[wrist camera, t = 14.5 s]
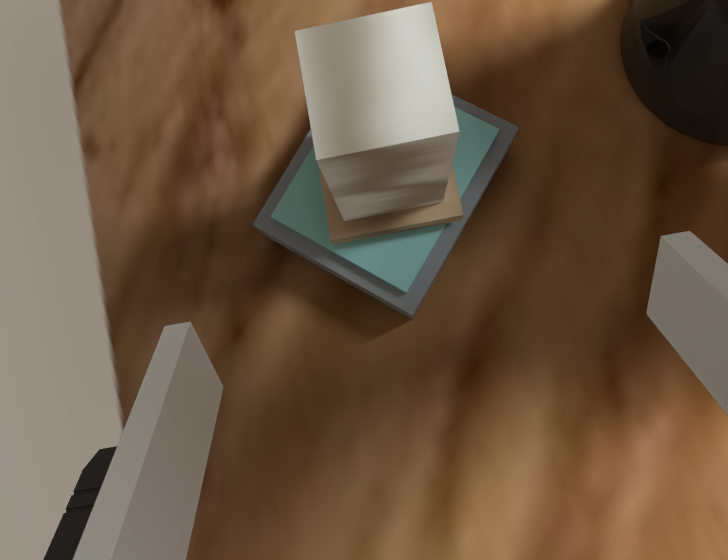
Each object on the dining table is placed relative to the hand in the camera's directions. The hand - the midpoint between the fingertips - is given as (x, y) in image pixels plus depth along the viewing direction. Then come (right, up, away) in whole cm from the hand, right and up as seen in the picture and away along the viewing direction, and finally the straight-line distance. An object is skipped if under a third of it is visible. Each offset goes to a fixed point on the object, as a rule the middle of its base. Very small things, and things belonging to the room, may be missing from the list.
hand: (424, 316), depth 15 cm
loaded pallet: (0, +8, +18) cm, 20 cm away
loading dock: (0, +7, +22) cm, 23 cm away
